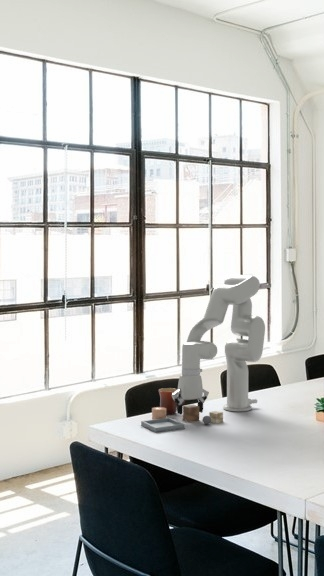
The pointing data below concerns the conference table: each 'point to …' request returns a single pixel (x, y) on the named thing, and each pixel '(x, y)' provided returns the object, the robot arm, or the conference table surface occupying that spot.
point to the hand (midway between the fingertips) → (190, 412)
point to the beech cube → (216, 416)
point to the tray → (162, 424)
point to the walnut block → (190, 413)
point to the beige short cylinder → (158, 413)
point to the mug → (168, 400)
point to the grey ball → (206, 420)
